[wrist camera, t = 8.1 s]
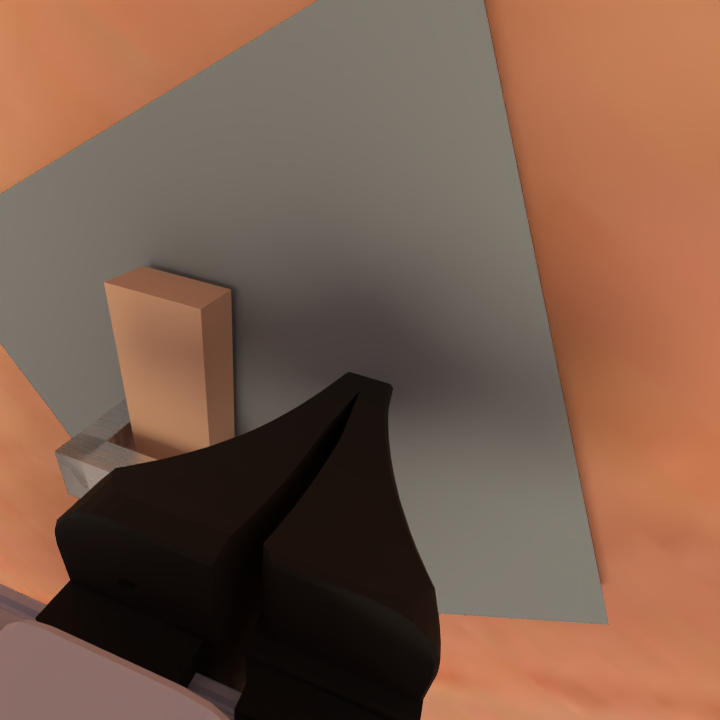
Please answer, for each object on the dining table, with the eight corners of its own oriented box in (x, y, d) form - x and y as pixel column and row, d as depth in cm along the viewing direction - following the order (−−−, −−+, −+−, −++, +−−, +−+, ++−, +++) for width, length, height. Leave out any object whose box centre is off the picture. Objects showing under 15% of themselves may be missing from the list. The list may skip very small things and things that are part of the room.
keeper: (257, 471, 17) (203, 547, 14) (141, 430, 18) (67, 493, 15) (258, 432, 16) (200, 506, 13) (134, 391, 16) (54, 451, 14)
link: (243, 585, 21) (187, 685, 17) (177, 559, 21) (110, 650, 18) (240, 291, 12) (132, 364, 9) (133, 263, 13) (-7, 320, 10)
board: (207, 571, 25) (191, 596, 23) (-35, 231, 17) (-77, 240, 16) (600, 585, 16) (608, 624, 15) (471, -63, 9) (466, -90, 8)
